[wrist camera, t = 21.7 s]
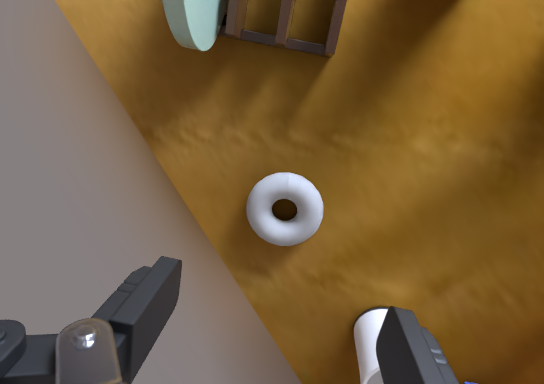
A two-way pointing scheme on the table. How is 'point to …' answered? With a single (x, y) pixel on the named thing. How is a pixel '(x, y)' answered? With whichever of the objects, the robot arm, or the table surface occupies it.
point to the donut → (292, 190)
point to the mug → (369, 344)
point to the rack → (282, 28)
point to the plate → (195, 21)
